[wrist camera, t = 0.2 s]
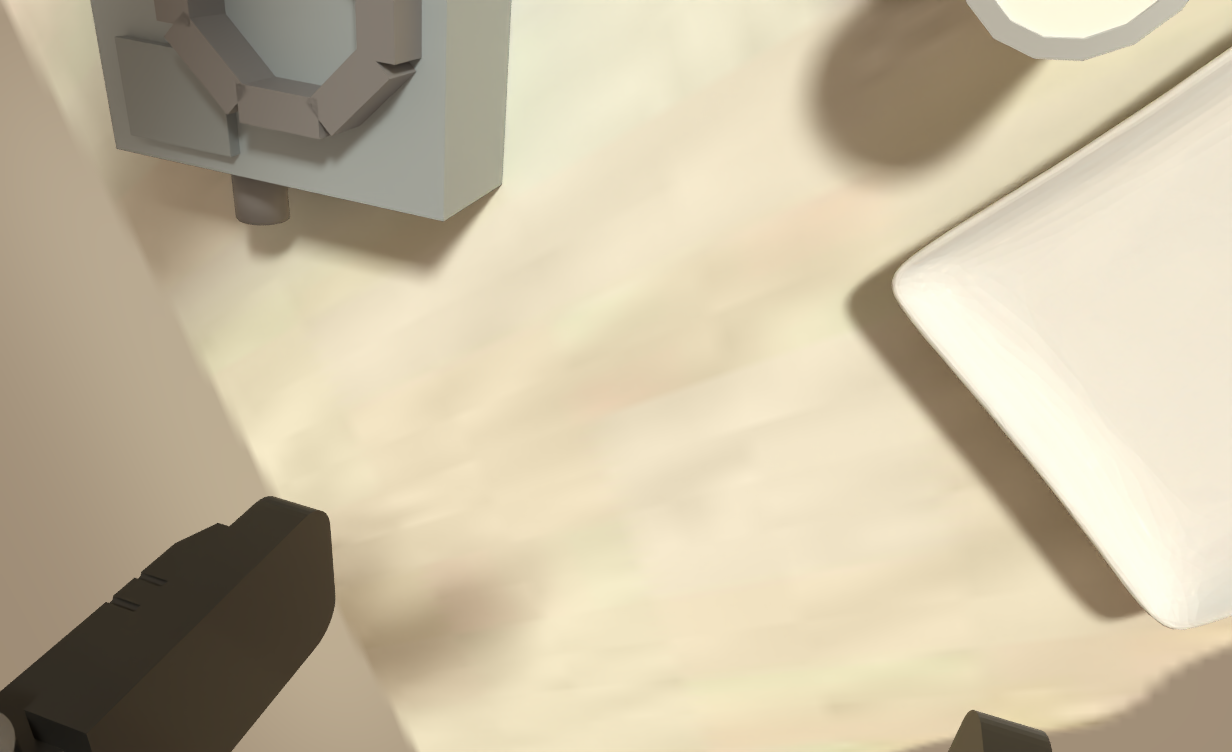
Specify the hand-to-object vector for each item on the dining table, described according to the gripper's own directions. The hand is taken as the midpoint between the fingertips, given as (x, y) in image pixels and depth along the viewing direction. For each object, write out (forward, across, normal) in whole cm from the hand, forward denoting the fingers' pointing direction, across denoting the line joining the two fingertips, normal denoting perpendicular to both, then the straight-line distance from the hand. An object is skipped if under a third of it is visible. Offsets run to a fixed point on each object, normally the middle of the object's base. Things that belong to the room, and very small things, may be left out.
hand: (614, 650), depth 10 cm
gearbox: (+29, +22, -1) cm, 36 cm away
